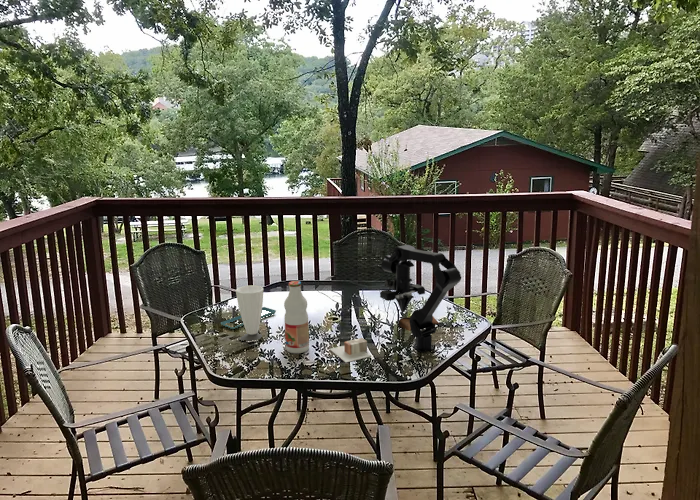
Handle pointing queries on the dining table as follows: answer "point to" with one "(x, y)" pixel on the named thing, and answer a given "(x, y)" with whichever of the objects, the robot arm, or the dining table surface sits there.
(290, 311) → the fruit juice
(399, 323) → the sunglasses case
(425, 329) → the robot arm
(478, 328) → the dining table surface
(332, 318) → the dining table surface
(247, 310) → the cup
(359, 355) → the beige flat slab
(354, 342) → the tall block
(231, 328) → the teal flat open frame
